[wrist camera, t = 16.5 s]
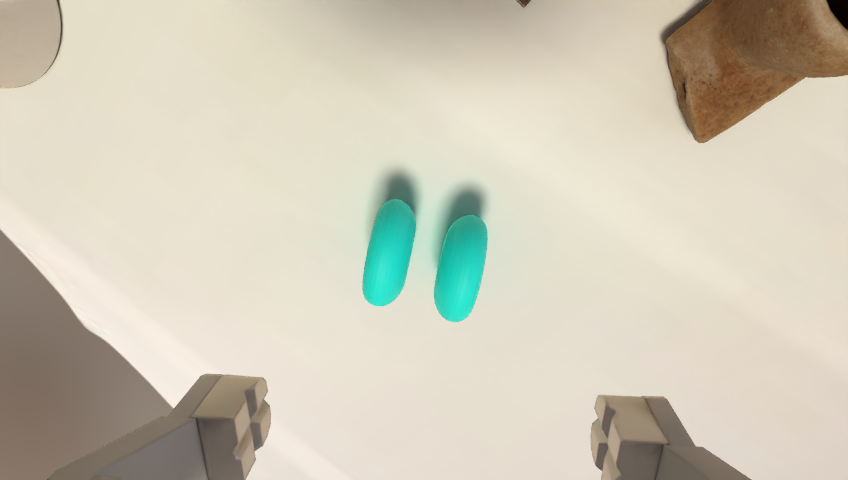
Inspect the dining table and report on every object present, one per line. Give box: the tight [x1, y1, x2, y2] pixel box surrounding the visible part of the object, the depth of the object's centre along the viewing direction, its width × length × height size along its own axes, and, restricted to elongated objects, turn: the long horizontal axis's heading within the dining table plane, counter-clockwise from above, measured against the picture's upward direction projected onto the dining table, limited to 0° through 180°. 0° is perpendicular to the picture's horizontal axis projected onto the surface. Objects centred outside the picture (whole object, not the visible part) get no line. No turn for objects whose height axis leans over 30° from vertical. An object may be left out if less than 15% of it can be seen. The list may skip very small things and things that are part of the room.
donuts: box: [362, 199, 487, 322], centre depth 45 cm, size 10×10×10 cm
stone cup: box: [665, 0, 848, 143], centre depth 34 cm, size 15×12×15 cm
